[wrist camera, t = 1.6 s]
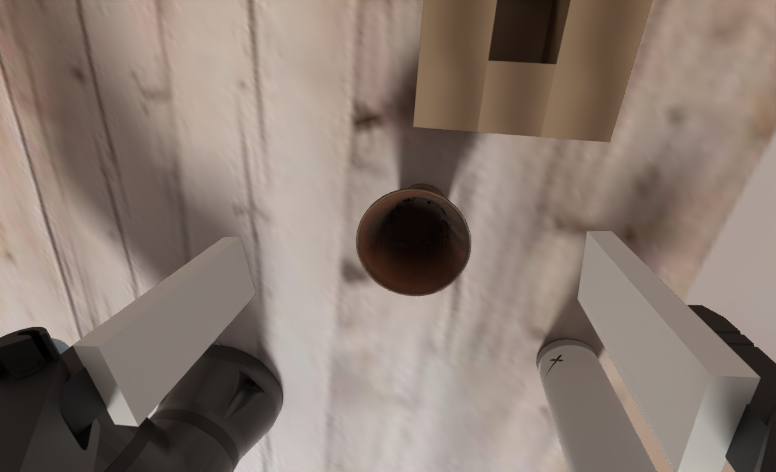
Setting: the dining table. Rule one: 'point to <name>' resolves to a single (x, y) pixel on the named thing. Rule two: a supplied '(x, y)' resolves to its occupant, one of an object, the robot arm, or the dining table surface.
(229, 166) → the dining table surface
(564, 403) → the travel mug
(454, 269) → the cup
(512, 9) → the socket block
